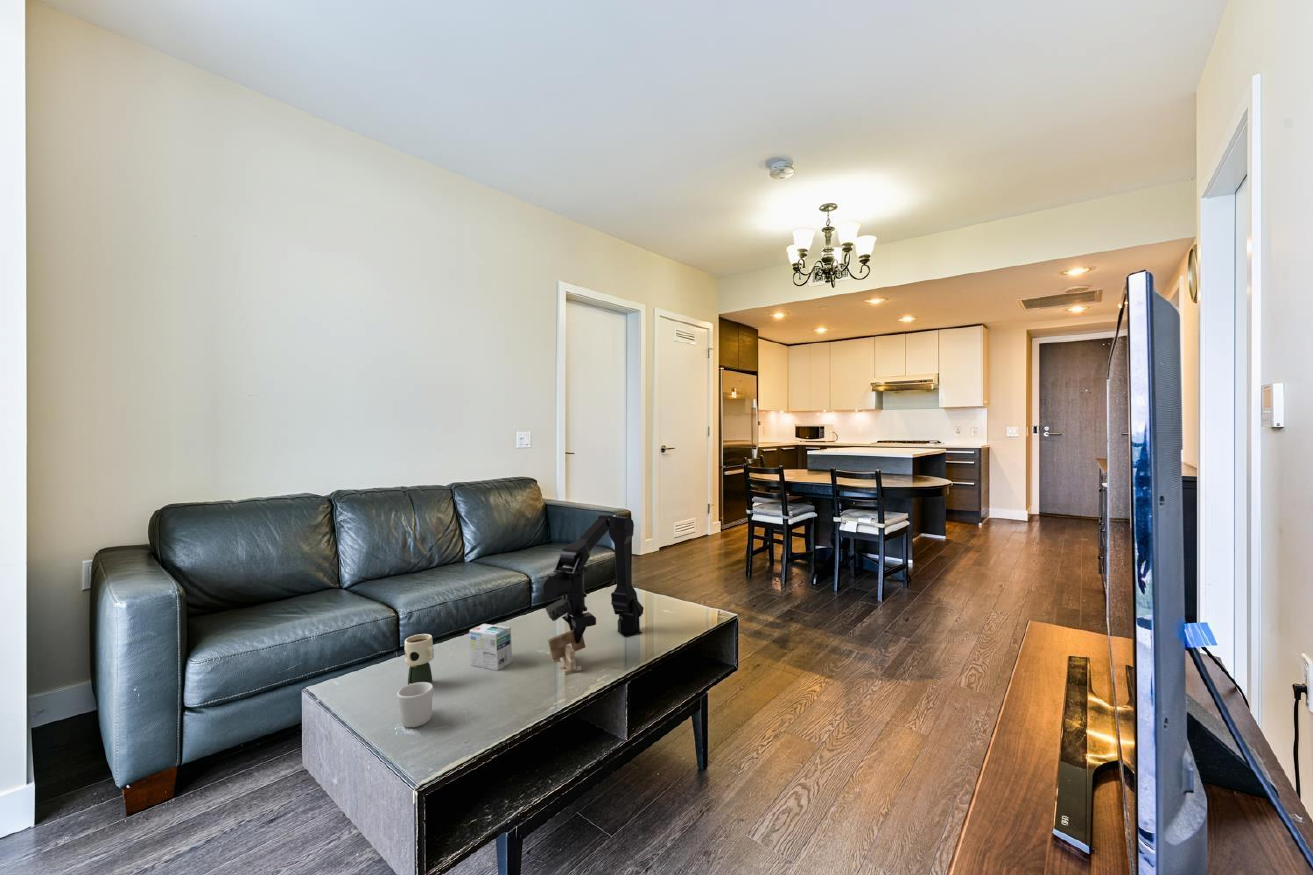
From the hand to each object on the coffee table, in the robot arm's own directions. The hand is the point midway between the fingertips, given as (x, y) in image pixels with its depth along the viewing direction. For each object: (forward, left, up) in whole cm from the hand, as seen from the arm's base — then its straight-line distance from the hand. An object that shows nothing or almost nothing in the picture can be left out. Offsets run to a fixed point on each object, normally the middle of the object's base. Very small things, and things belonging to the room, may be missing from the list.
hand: (576, 642), depth 164 cm
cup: (+44, +11, -6) cm, 46 cm away
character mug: (+42, -9, -6) cm, 44 cm away
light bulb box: (+22, -13, -6) cm, 27 cm away
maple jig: (+3, 0, -6) cm, 7 cm away
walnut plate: (+2, 0, -3) cm, 4 cm away
